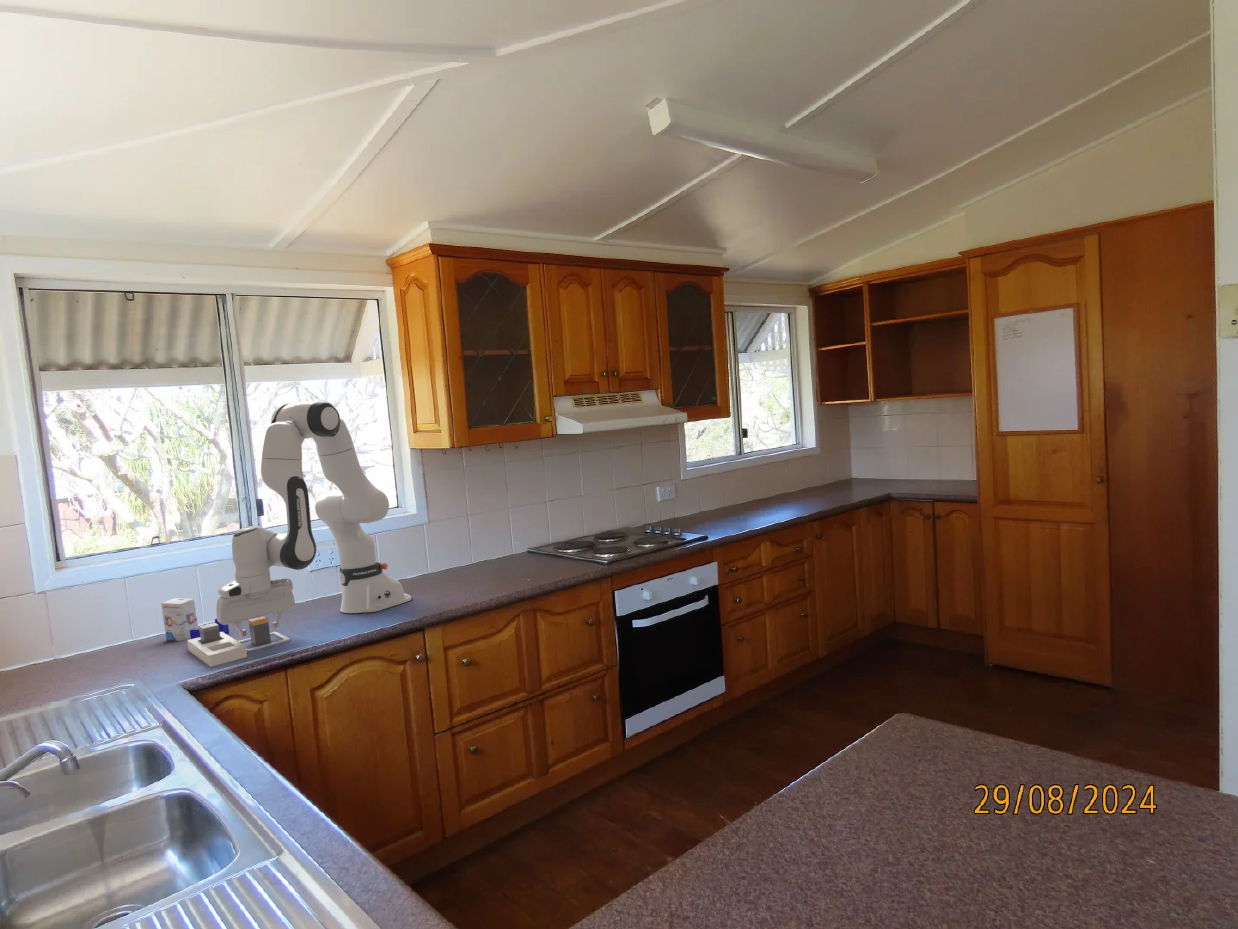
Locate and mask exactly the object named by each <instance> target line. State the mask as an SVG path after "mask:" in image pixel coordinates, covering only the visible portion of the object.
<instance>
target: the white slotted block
mask: <svg viewBox="0 0 1238 929" xmlns="http://www.w3.org/2000/svg"><path fill="white" fill-rule="evenodd" d="M220 639H221V640H218V641H214V642H210V643H206V644H201V638H200V637H198V638H194V639H191V638H189V639H186V642H187V649H188V652H189V653H191V654H193V656H195V657H196V658H197V659H199V660H200V661H201V662H203V663H204V664H206V665H207V666H209V667H210V668H212V667H216V666H219V665H223V664H227V663H231V662H235V661H239V660H242V659H245V658H248V652H247V651H246V648H247V645H245V644H243V642H242V643H240V642H238V641H239V640H237V639H235V638H233V637H232V636H230V635H228V634H225V633H223V632H220Z"/></svg>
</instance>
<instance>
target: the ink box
mask: <svg viewBox="0 0 1238 929" xmlns="http://www.w3.org/2000/svg"><path fill="white" fill-rule="evenodd" d="M160 604H161V611H162V617H163V618H162V619H163V625H164V631H165V638H166V640H167V641H174V642H175V641H178V642H180V641H183V640H184V641H185V640H190V639H191V637H190V630H191V629H193V628H199V624H198V617H197V616H198V615H197V610H196V604H195V599H194V598H184V597H183V598H182V597H181V598H180V597H174V598H172V599H169V600H166V601H164V602H161V603H160Z"/></svg>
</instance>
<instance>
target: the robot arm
mask: <svg viewBox="0 0 1238 929" xmlns="http://www.w3.org/2000/svg"><path fill="white" fill-rule="evenodd" d="M270 418H271V419H270V424H269V425H268V426H267V427H266V428H265V430H264V434H263V439H262V443H261V444H262V445H261V451H260V474H261V479H262V481H263V483H264V484H265V485H266V486H267V487H268V488H269V489H271V490H272V491H274V492H276V494H278V495H279V496H280V497H281V498H282V500H283V502H284V504H285V508H286V510H285V511H286V523H287V533H286V532H277V531H274V530H273V531H272V530H269V529H267V528H264V527H262V526H261V525H257V524H255V525H250V526H245V527H242V528H240V529H238V530H236V531H235V532H234V533H233V535H232V539H231V552H232V553H231V554H232V560H233V565H234V566H235V573H234V578H235V579H234V580H232V581H231V582H229V583H227V584H225V585H223V586H220V587H219V588H218V590H217V592H218V595H219V596H220V597H218V599H217V601H216V618H217V621H218V622H219V623H220V624H222V625H227V624H228V625H231V624H233V627H234V628H236V629H237V631H238V635H239V637H240V638H243V637H247V634H248V633H247V630H246V629H245V628H243V629H242V627H241V625H242V622H243V621H249V620H251V619H255V618H259V617H265V616H269V615H272V614H274V616H275V618H274V621H272V622H271V623H270V624H271V629H274V630H275V629H278V628H280V620H281V619H282V616H283V613H282V612H285V611H289V610H293V609H294V607H295V606H296V602H295V601H296V600H295V597H294V593H293V589H294V586H293V585H294V584H293V581H292V579H290V578H287V577H282V578H279V579H273V580H272V579H271V570H270V568H271V567H279V568H280V567H281V568H288V569H292V570H297V571H299V570H304V569H306V568H307V567H308V566H310V565H311V564H312V562H313V561H314V560H315V557H316V555H317V542H316V541H315V538H314V535H313V530H312V521H311V519H312V518H311V510H310V508H311V507H310V499H309V492H308V491H309V490H308V485H307V483H306V481H305V478H304V474H303V473H304V472H303V449H302V446H303V443H304V440H305V439H310V438H311V439H313V441H314V444H315V447H316V452H317V456H318V459H319V463H320V466H321V470H322V473H323V475H324V478H326V480H327V481H328V482H331V484H333V485H335V486H336V488H338V489H335V490H334V489H333V490H331V491H326V492H324V493H321V494H320V495H319V496H318V497H317V499H316V501H315V505H314V510H315V514H316V516H317V518H318V519H319V520H321V521H322V522H323V523H324V524H325V525H326V526H327V527H328V528H329V530H330V532H331V533H332V535H333V537H334V540H335V542H336V545H337V549H338V557H339V563H340V564H339V565H340V567H339V579H340V580H339V581H340V582H341V583H340V585H341V587H342V588H341V590H342V591H341V606H340V610H339V611H340V612H341V613H343V614H359V613H361V614H362V613H375V612H379V611H382V610H385V609H389V608H392V607H394V606H398V605H400V604H404V603H406V602H409V601H411V600H412V596H411V595H410V594H408V593H405V592H404V589H403V586H402V584H401V582H400V581H399V580H397V579H395V578H394V577H392V576H391V575H389V574H387V573H385V572H383V570H385V571H386V570H387V569H388V568H389V566H388V564H387V563H385V562H382V563H381V562H377V556H376V549H375V548H376V547H375V541H374V539H373V538H372V537H371V535H369V534H368V533H366V532H365V530H363V528H362V527H361V524H370V523H375V522H378V521H382V520H384V518H386V517H387V514H388V513H389V510H390V509H389V508H390V501H389V499H388V496H387V495H386V494H385V492H383V491H382V490H380V489H379V488H377V487H376V486H375V485H374V484H372V482H371V481H370V480H369V479H368V477H367V476H366V475H365V473H364V471H363V469H362V468H361V464H360V462H359V458H358V455H357V452H356V449H355V445H354V442H353V441H354V440H353V438H352V436H351V433H350V431H349V428H348V426H347V424H346V423H345V421H344V418H342V417H341V416H340V412H339V411H338V409H337V408H336V407H335V405H333V404H332V403H331V402H327V401H323V400H317V401H300V402H299V401H298V402H294V403H285V404H282V405H280V406H278V407H276V408H275V410H274V411H273V412H272V415H271V417H270Z"/></svg>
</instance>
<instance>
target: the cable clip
mask: <svg viewBox="0 0 1238 929" xmlns="http://www.w3.org/2000/svg"><path fill="white" fill-rule="evenodd" d="M214 623H216V624H218V625H219V631H220V632H223V633H225V634H227V635H228V634H229V633H230V629H229V624H227V625H222V624H220V623H219V622H218V621H217V617H216V618H215V619H214ZM190 637H191V638H190V639H194V638H198V637H200V631H199V627H198V628H193V629H191V630H190Z"/></svg>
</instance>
